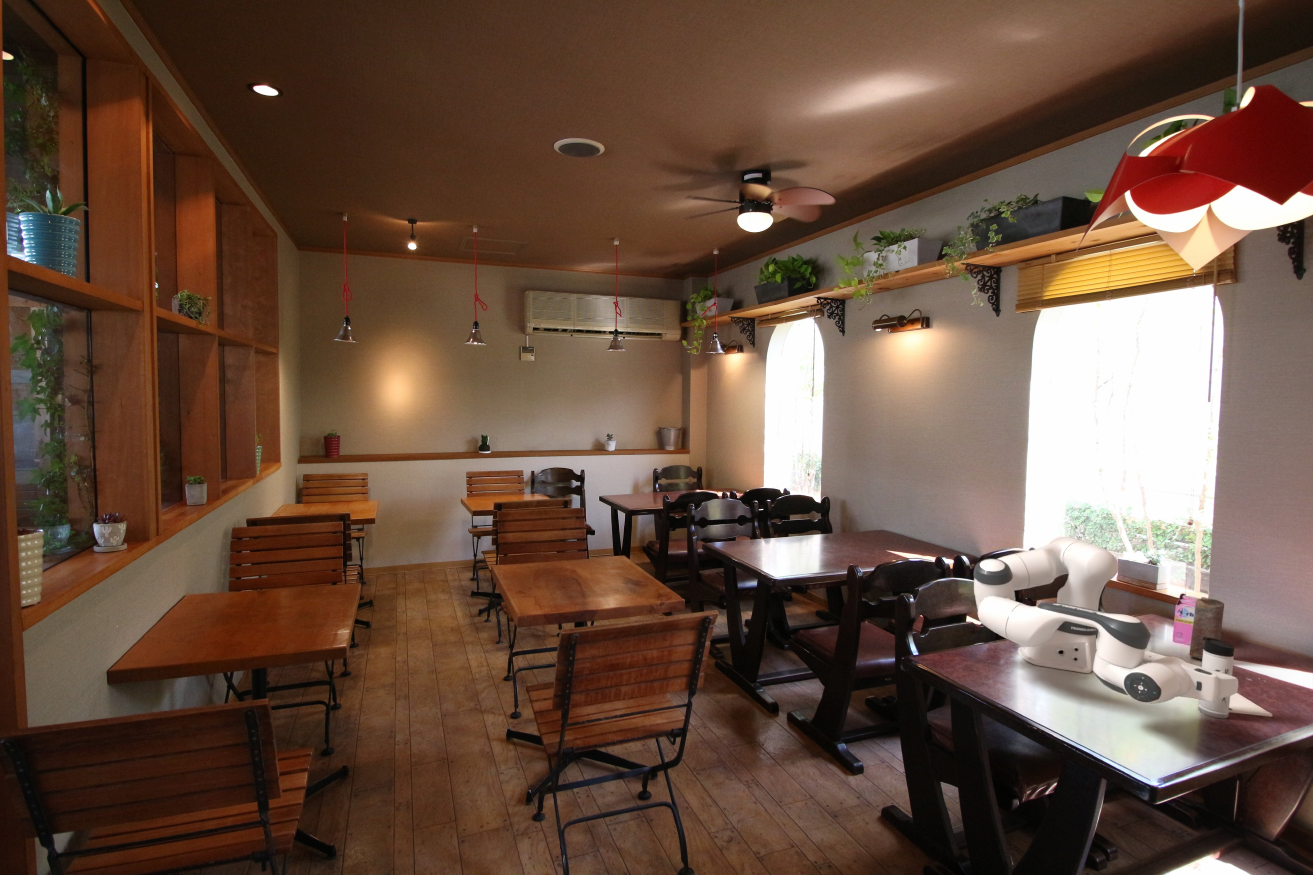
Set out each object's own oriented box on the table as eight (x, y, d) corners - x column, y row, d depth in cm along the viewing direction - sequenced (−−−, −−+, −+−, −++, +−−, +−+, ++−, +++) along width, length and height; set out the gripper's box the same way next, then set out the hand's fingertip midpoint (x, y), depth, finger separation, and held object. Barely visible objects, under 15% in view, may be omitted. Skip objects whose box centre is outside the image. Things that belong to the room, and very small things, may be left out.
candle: (1224, 663, 216) (1229, 602, 215) (1210, 665, 213) (1215, 604, 212) (1197, 654, 223) (1202, 596, 222) (1183, 656, 221) (1189, 597, 220)
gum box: (1177, 627, 253) (1180, 592, 252) (1204, 632, 248) (1207, 596, 247) (1171, 641, 235) (1174, 604, 235) (1200, 648, 230) (1203, 609, 229)
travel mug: (1196, 705, 183) (1202, 634, 182) (1227, 713, 178) (1234, 640, 177) (1196, 712, 178) (1202, 639, 177) (1228, 721, 174) (1235, 646, 172)
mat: (1227, 711, 179) (1228, 708, 179) (1190, 687, 195) (1191, 684, 195) (1272, 716, 177) (1272, 713, 177) (1231, 691, 193) (1231, 688, 193)
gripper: (1124, 672, 173) (1151, 664, 180) (1221, 705, 155) (1246, 694, 162) (1126, 649, 172) (1152, 641, 179) (1224, 678, 155) (1248, 669, 162)
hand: (1198, 666), depth 171 cm, fingers open, 8 cm apart
